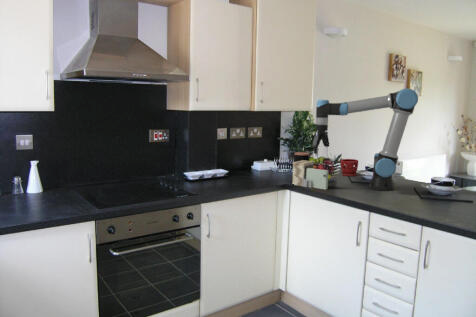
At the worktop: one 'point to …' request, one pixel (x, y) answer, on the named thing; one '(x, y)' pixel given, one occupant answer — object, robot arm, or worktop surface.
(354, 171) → the plant pot
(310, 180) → the hinge clips
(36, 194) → the worktop surface
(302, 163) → the cabinet
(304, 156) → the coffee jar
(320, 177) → the cabinet door
